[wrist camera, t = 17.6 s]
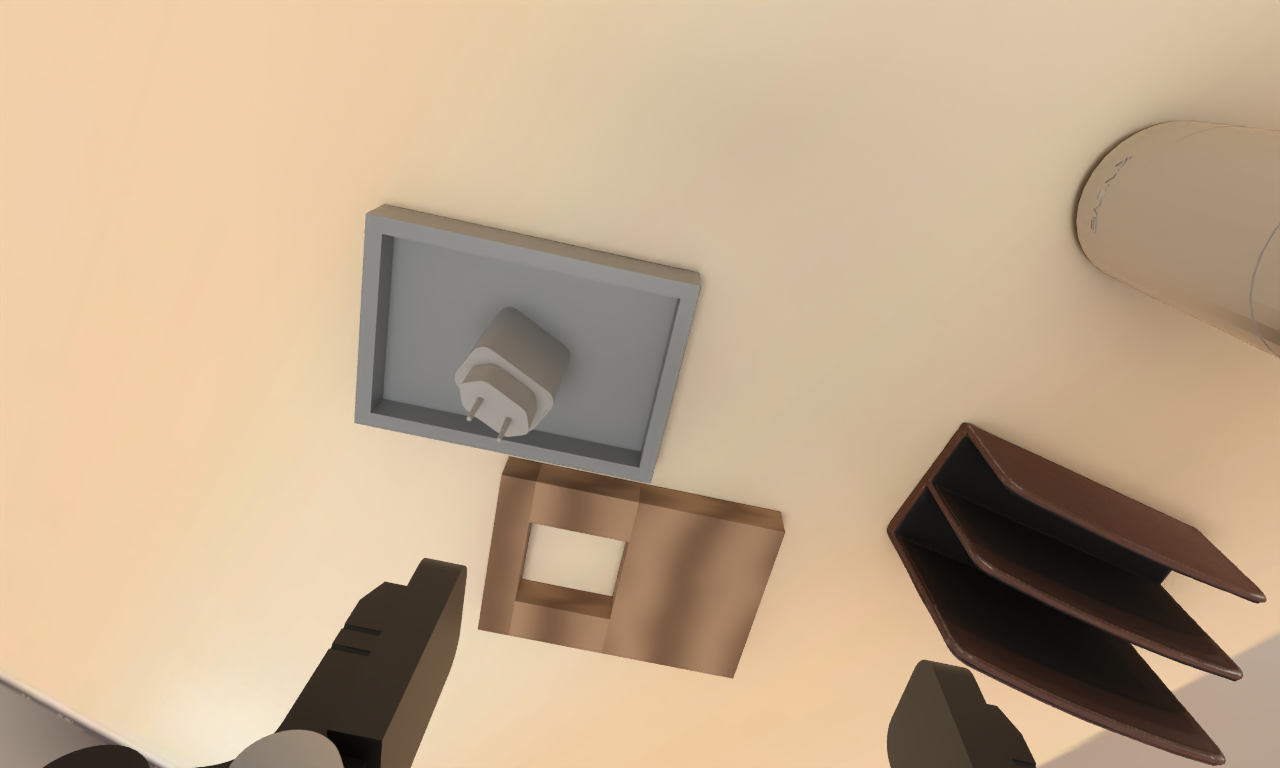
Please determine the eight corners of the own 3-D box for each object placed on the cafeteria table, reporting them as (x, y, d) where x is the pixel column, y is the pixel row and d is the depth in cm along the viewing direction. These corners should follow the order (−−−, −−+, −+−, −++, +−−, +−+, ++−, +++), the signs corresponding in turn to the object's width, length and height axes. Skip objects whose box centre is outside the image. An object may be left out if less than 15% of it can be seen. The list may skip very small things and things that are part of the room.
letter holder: (1104, 623, 56) (1234, 791, 43) (882, 527, 53) (949, 676, 40) (1196, 526, 52) (1369, 678, 39) (962, 418, 49) (1064, 543, 36)
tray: (699, 273, 46) (700, 286, 43) (651, 461, 51) (650, 483, 49) (384, 204, 45) (365, 213, 42) (371, 403, 50) (354, 422, 48)
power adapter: (507, 302, 46) (456, 376, 35) (574, 353, 47) (545, 440, 36) (480, 337, 47) (421, 419, 36) (546, 386, 48) (509, 480, 37)
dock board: (780, 511, 53) (785, 532, 50) (730, 654, 58) (733, 678, 56) (509, 456, 52) (501, 474, 49) (485, 606, 57) (477, 629, 55)
